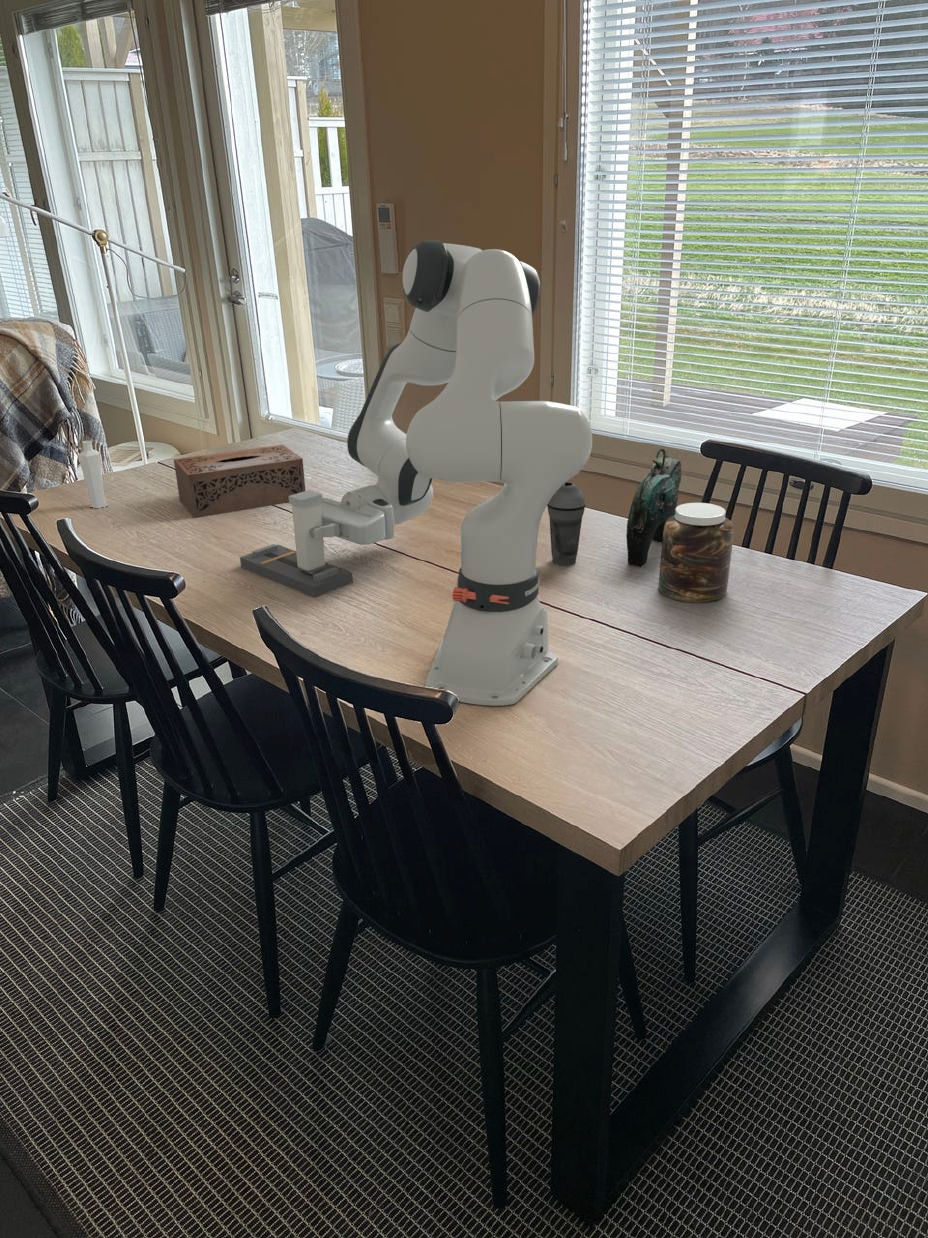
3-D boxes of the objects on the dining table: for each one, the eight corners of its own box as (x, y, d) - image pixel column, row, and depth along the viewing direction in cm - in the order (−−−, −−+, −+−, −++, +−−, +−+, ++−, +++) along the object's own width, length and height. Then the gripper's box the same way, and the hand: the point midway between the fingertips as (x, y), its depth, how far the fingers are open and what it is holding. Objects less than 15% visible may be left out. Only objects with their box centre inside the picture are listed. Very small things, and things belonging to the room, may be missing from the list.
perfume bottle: (114, 504, 213) (102, 440, 206) (98, 510, 210) (86, 444, 203) (101, 501, 215) (89, 437, 209) (85, 506, 212) (72, 442, 205)
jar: (675, 572, 173) (682, 495, 166) (736, 586, 167) (745, 506, 160) (647, 593, 164) (654, 513, 158) (710, 609, 158) (720, 525, 152)
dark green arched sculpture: (653, 533, 192) (661, 437, 184) (683, 538, 189) (693, 441, 181) (617, 564, 177) (624, 462, 168) (650, 570, 174) (658, 466, 165)
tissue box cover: (194, 519, 204) (188, 475, 200) (179, 501, 216) (173, 459, 211) (306, 500, 215) (302, 458, 211) (286, 484, 226) (282, 444, 222)
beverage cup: (581, 570, 174) (586, 466, 166) (542, 567, 176) (545, 464, 167) (584, 555, 181) (589, 455, 172) (547, 553, 182) (550, 453, 174)
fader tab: (328, 568, 170) (322, 494, 164) (308, 575, 167) (302, 500, 161) (314, 563, 173) (308, 489, 167) (295, 570, 170) (287, 495, 164)
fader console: (353, 582, 170) (351, 567, 169) (314, 597, 164) (313, 581, 163) (278, 553, 184) (277, 539, 182) (241, 566, 178) (239, 552, 176)
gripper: (325, 485, 180) (267, 502, 171) (398, 507, 168) (340, 526, 159) (327, 516, 183) (270, 534, 174) (400, 540, 170) (342, 561, 161)
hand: (304, 531), depth 166 cm, fingers closed on fader tab, 3 cm apart
